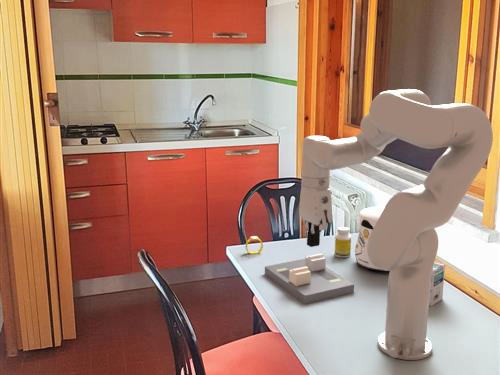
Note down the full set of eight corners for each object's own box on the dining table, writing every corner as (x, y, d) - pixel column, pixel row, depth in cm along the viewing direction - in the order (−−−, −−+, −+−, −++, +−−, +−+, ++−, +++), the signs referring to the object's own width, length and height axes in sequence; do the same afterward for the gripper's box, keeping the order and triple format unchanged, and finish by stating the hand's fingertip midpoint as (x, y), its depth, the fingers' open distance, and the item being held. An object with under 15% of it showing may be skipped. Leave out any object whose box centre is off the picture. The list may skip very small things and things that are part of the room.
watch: (261, 251, 198) (262, 236, 197) (262, 254, 196) (264, 238, 194) (244, 252, 197) (245, 236, 196) (246, 254, 194) (247, 238, 193)
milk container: (343, 261, 189) (345, 210, 184) (383, 252, 196) (386, 203, 192) (377, 279, 174) (380, 224, 169) (419, 269, 182) (423, 216, 177)
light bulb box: (443, 299, 160) (446, 263, 158) (432, 306, 156) (435, 270, 153) (408, 288, 168) (411, 254, 165) (397, 295, 163) (400, 260, 160)
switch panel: (354, 292, 165) (354, 284, 164) (304, 303, 158) (305, 295, 157) (309, 264, 186) (310, 257, 185) (264, 273, 178) (264, 266, 178)
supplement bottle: (351, 258, 191) (352, 231, 189) (335, 258, 192) (336, 230, 189) (349, 252, 197) (350, 226, 194) (333, 252, 197) (334, 226, 194)
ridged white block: (325, 268, 176) (325, 255, 175) (312, 271, 173) (312, 258, 172) (318, 264, 179) (318, 251, 178) (305, 267, 177) (305, 254, 176)
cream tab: (310, 282, 165) (311, 269, 164) (296, 286, 163) (296, 272, 162) (303, 278, 169) (303, 264, 168) (289, 281, 166) (289, 267, 165)
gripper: (343, 186, 147) (339, 252, 152) (312, 174, 160) (310, 235, 165) (319, 189, 144) (316, 256, 149) (289, 177, 157) (288, 239, 161)
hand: (313, 245), depth 157 cm, fingers closed
